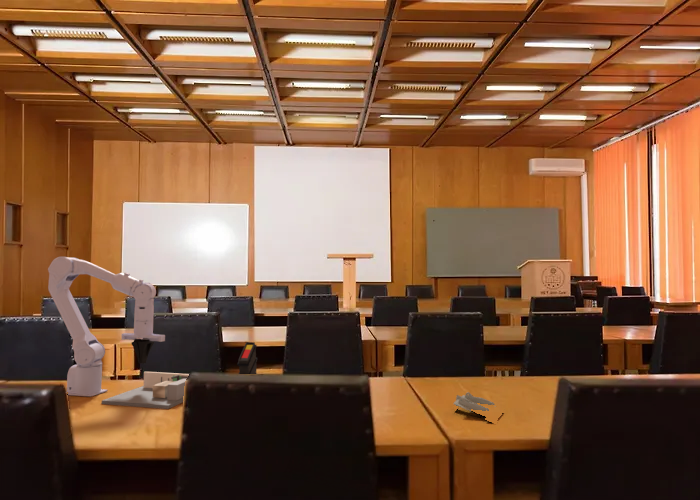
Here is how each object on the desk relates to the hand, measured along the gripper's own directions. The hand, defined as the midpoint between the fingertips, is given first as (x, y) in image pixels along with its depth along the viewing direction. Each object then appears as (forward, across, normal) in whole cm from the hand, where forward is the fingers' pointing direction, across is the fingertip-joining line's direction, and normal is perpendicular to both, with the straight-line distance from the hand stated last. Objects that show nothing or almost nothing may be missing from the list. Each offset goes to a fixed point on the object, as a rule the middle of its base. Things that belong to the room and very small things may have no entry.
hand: (142, 363), depth 163 cm
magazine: (+9, +30, +15) cm, 35 cm away
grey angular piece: (+10, +105, +4) cm, 105 cm away
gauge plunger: (+8, +12, -3) cm, 15 cm away
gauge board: (+9, +8, -5) cm, 14 cm away
